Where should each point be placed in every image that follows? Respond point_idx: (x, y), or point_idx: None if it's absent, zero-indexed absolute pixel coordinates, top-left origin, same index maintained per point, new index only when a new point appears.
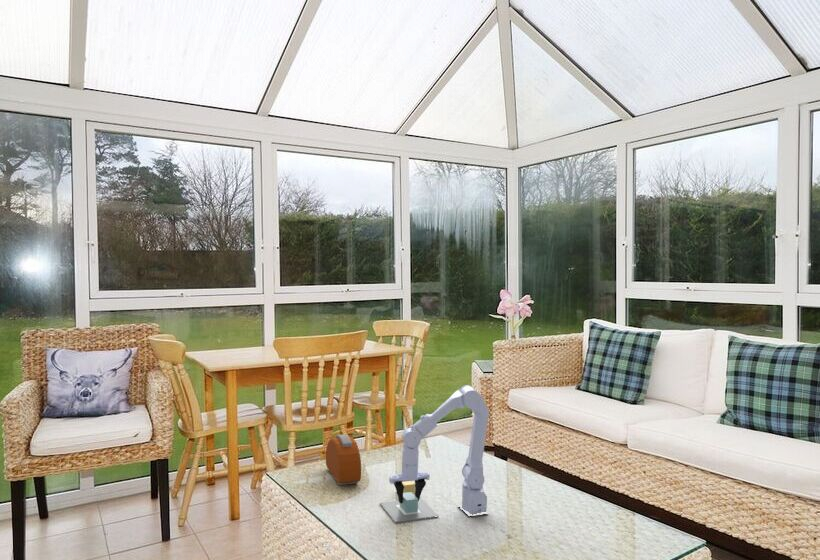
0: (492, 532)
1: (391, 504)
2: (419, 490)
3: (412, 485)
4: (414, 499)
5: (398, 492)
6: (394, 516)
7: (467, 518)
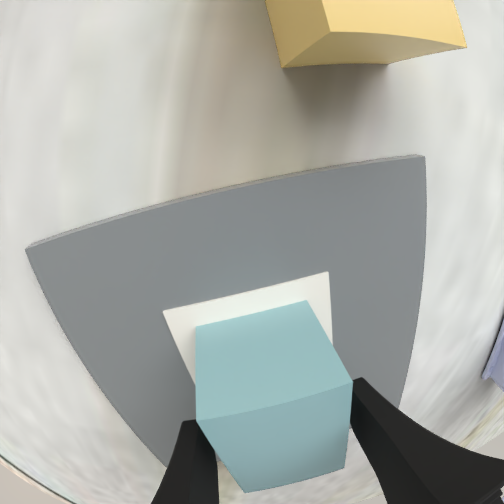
0: (460, 431)
1: (121, 290)
2: (389, 491)
3: (431, 43)
4: (313, 477)
5: (176, 493)
6: (158, 438)
7: (473, 381)
